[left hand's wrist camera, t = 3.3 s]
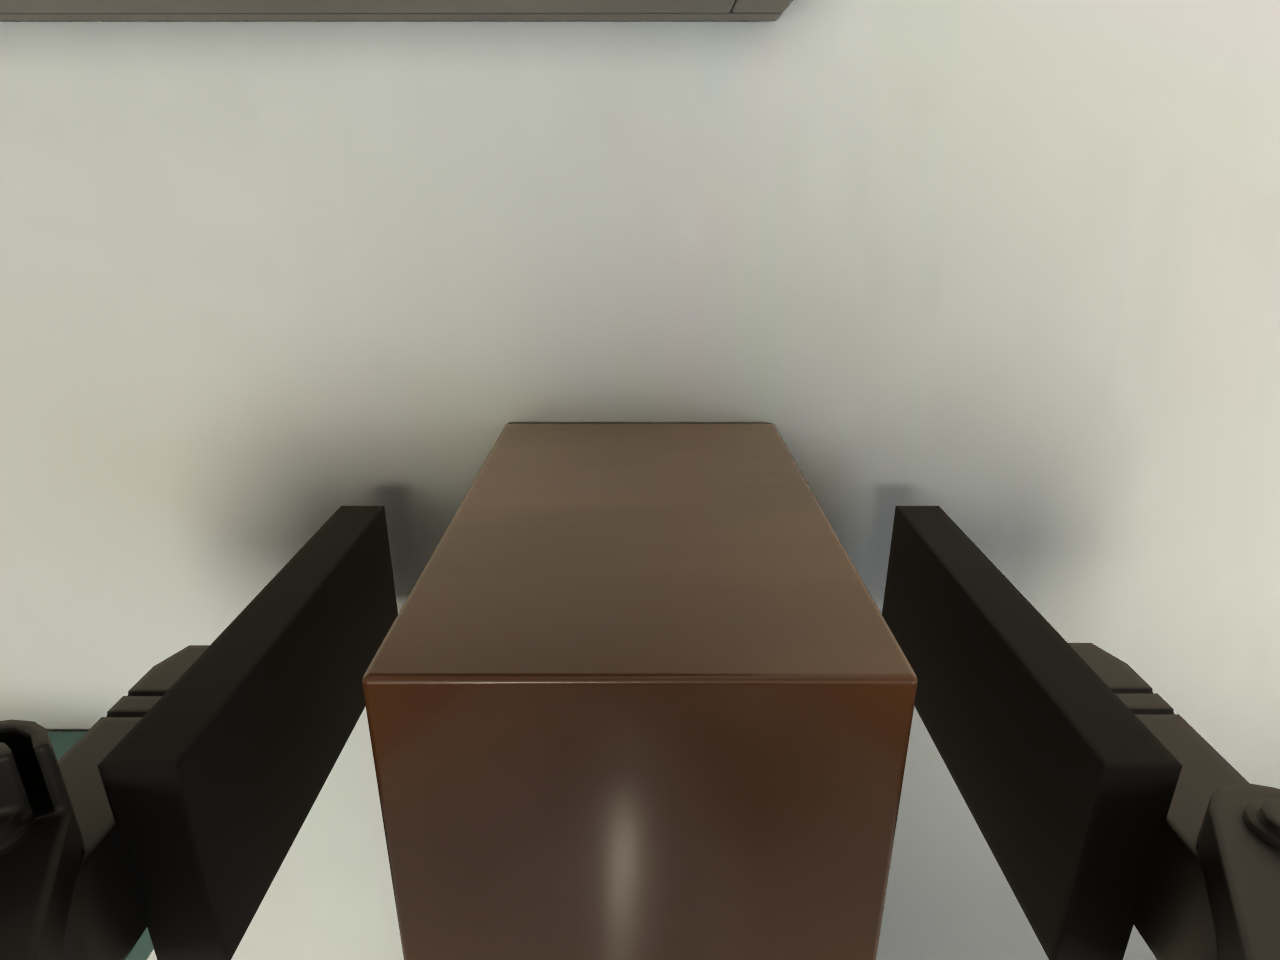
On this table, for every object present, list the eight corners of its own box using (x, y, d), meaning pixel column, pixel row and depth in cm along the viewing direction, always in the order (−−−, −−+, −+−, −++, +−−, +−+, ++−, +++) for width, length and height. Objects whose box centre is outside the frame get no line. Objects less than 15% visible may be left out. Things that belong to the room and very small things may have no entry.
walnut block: (774, 422, 14) (922, 678, 7) (759, 653, 16) (864, 1056, 9) (505, 421, 14) (357, 678, 7) (520, 653, 16) (415, 1057, 9)
